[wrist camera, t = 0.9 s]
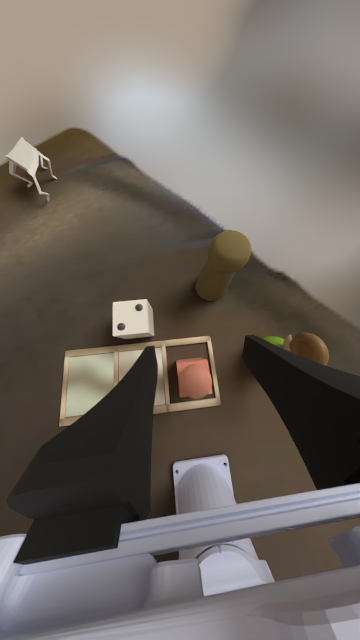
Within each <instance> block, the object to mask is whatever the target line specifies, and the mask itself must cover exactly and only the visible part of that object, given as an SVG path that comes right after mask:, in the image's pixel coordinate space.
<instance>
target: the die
mask: <svg viewBox="0 0 360 640" xmlns="http://www.w3.org/2000/svg"><path fill="white" fill-rule="evenodd" d="M113 336H115V337H119V338H123V339H132V338H141V337H151V336H154V325H153V309H152V307H151V306H150V304H149V302H148V300H147V299H144V300H133V301H122V302H113Z"/></svg>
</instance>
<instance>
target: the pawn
mask: <svg viewBox="0 0 360 640" xmlns="http://www.w3.org/2000/svg"><path fill="white" fill-rule="evenodd" d="M177 372H178V383H179V393H180V398H181V397H191V398H194V399H199V398H203V397H205V396H206V395H207V394H212V378H211V375H210V373H209V367H208V360H207V359H203V358H192V359H183V360H177Z"/></svg>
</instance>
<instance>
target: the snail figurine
mask: <svg viewBox="0 0 360 640" xmlns="http://www.w3.org/2000/svg"><path fill="white" fill-rule="evenodd" d="M262 339H264V340H266V341H268V342H270V343H272V344H274V345H276V346H278V347H280V348H283V349H285V350H287V351H289V352H291V353H294V354H296V355H299V356H301V357H303V358H306V359H308V360H311V361H314V362H316V363H319V364H322V365H325V366H326V365H327V363H328V359H329V354H328V349H327V347H326V345H325V343H324V342H323V341H322V340H321V339H320V338H319V337H317V336H315V335H313V334H310V333H300V334H297V335H296V336H294V337H293V339H292V337H291V335H288V336H287V337H286V338H285V340H284V339H282V338H280V337H275V336H268V337H264V338H262Z"/></svg>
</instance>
